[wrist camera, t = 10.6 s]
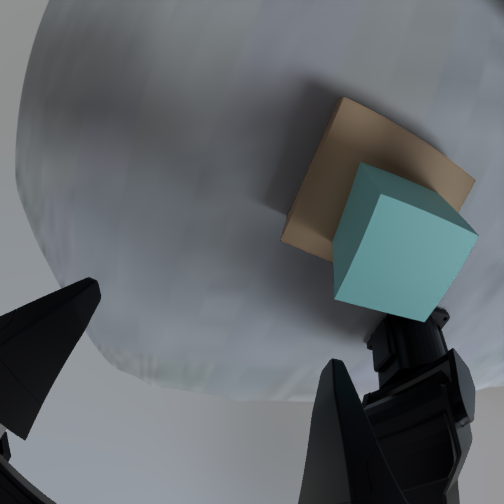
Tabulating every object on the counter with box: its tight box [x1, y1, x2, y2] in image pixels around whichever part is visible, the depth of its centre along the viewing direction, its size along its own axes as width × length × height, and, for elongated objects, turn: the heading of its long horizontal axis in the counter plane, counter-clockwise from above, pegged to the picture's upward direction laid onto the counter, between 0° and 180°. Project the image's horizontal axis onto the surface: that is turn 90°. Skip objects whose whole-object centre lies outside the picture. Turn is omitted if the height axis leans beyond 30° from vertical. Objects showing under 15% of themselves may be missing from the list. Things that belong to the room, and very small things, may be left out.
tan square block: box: [280, 97, 476, 263], centre depth 15 cm, size 9×9×4 cm
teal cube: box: [332, 162, 479, 322], centre depth 12 cm, size 5×5×5 cm
